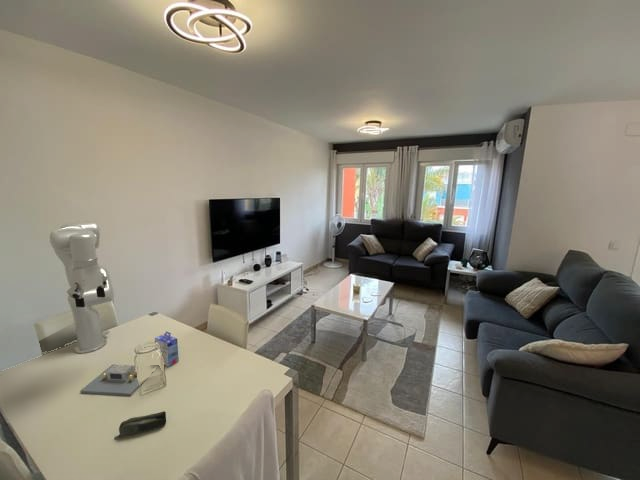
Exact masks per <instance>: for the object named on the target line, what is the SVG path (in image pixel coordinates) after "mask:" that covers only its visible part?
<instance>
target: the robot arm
mask: <svg viewBox="0 0 640 480" xmlns="http://www.w3.org/2000/svg"><path fill="white" fill-rule="evenodd" d="M100 236H101V229H100V228H99V225H98V224H97V223H96V222H94V221H82V222H80V221H78V222H68V223H67V222H66V223H65V224H63V225H61V226H60V228H58V229H54V230H52V231H50V233H49V243H50V246H51V247H52V249H53V251H54V253H55V254H56V257H58V259H59V260H60V262H62V264H63V266H64V270H65V274H66V278H67V279H66V280H67V282H68V285H69V287H70V288H68V289H67V291H66V293H67V294H68V296H67V303H68V305H69V307H70V309H71V312H72V316H73V323H74V328H75V333H76V339H77V345H76V346H75V347H74V352H75V353H76V354H87V353H91V352H94V351H97V350H99V349H101V348H103V347H105V345H106V344H107V343H108V341H107V338H106V336H107V335H109V334H110V330H109V329H107V330H105V331H104V332H103V331H102V328H101V326H102V325H101V319H100V314H99V311H98V310H97V309H96V308H94V306H97V305H101V304H105V303H106V304H107V303H109V302H111V301H113V300H114V299H115V298H114V297H115V292H114V289H113V284H112V281H111V279H110V274H109V271H108V270H107V268H106V267H104V266H100V264H99V263H98V260H99V259H98V256H97V251H96V250H97V249H98V248H99V247H100V238H101V237H100Z"/></svg>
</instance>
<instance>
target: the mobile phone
mask: <svg viewBox="0 0 640 480" xmlns="http://www.w3.org/2000/svg"><path fill="white" fill-rule="evenodd" d="M166 423H167V412H166V411H159V412H156V413H151V414H147V415H141V416H134V417H131V418H128V419H126V420H124V421H122V422H121V423H120V425H119V427H118V432H119V434H118V435H116V436H114V437H113V438H114V440H115V439H118V438H122V437H125V436H131V435H134V434H138V433H143V432H147V431H151V430H152V431H153V430H157V429H160V428H162V427H164V426H165V425H166Z"/></svg>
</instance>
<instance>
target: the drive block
mask: <svg viewBox="0 0 640 480" xmlns="http://www.w3.org/2000/svg"><path fill="white" fill-rule="evenodd" d="M133 366H134V365H133V364H131V365H130V364H115V365H114V366H113V367H111V368H110V369H109V370H108V371H107V372H106V373H107V380H108V381H114V382H127V381H128V380H129V378H128V375H129V374H133V375H134V371H133Z"/></svg>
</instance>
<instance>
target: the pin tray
mask: <svg viewBox="0 0 640 480" xmlns="http://www.w3.org/2000/svg"><path fill="white" fill-rule="evenodd" d="M114 365H116V363H115V364H111V365H110V366H109V367H108V368H106V369H105V370H104V371H102V373H100V374H99V375H98V376H96V378H94V379H93V380H92V381H90V382H89V383H88V384H87V385H85V386H84V387H83V388H81V390H80V391H79V392H80V394H89V395H105V396H107V395H108V396H121V397H123V396H124V397H132V395H134V393H136V391H138V390H139V388H140V387H139V382H138V380H137V372H136V369H135V366H136V365H133V371H134V375H133V374H129V375H128V378H129V380H128V381H127V382H114V381H108V380H107V373H106V372H107V371H108V370H109V369H110V368H111V367H113V366H114Z"/></svg>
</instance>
